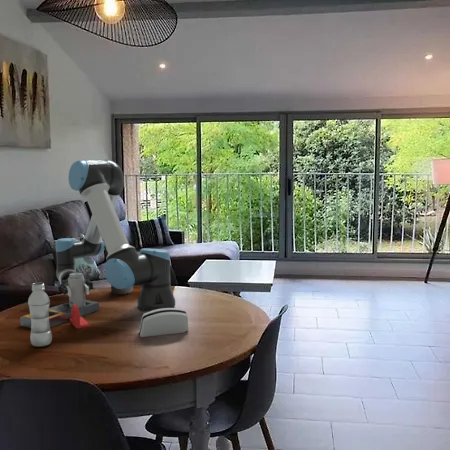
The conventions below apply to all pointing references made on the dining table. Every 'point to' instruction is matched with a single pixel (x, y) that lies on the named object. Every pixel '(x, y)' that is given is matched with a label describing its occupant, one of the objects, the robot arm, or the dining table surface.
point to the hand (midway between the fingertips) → (79, 292)
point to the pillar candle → (121, 290)
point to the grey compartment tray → (62, 313)
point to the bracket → (78, 318)
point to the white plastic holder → (163, 322)
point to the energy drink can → (76, 289)
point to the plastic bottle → (39, 316)
